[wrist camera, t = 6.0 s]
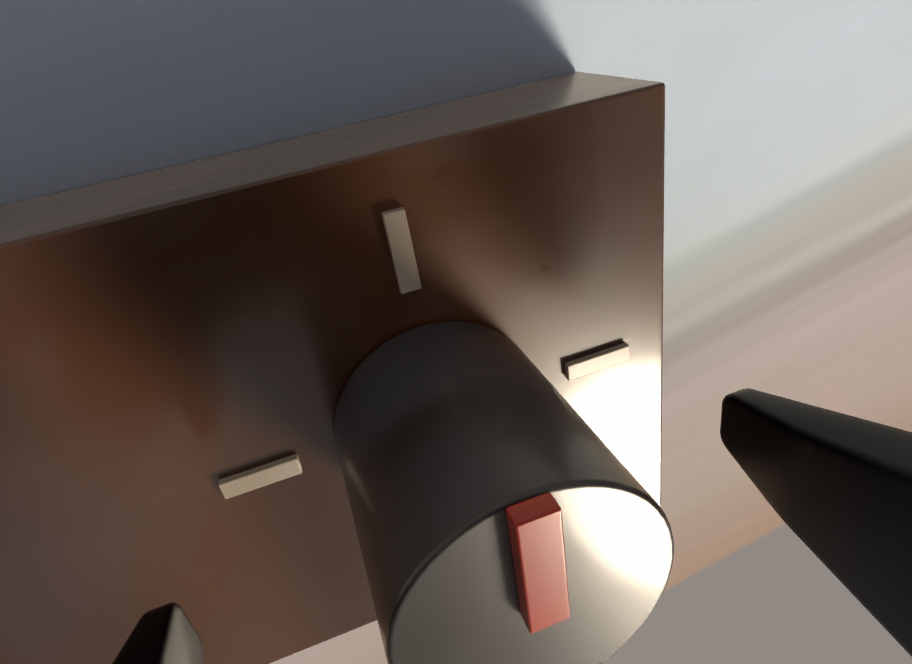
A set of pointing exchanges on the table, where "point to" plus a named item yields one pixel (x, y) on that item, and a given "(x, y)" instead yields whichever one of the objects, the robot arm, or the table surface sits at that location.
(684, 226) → the table surface
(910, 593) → the robot arm
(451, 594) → the knob
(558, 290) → the knob panel
